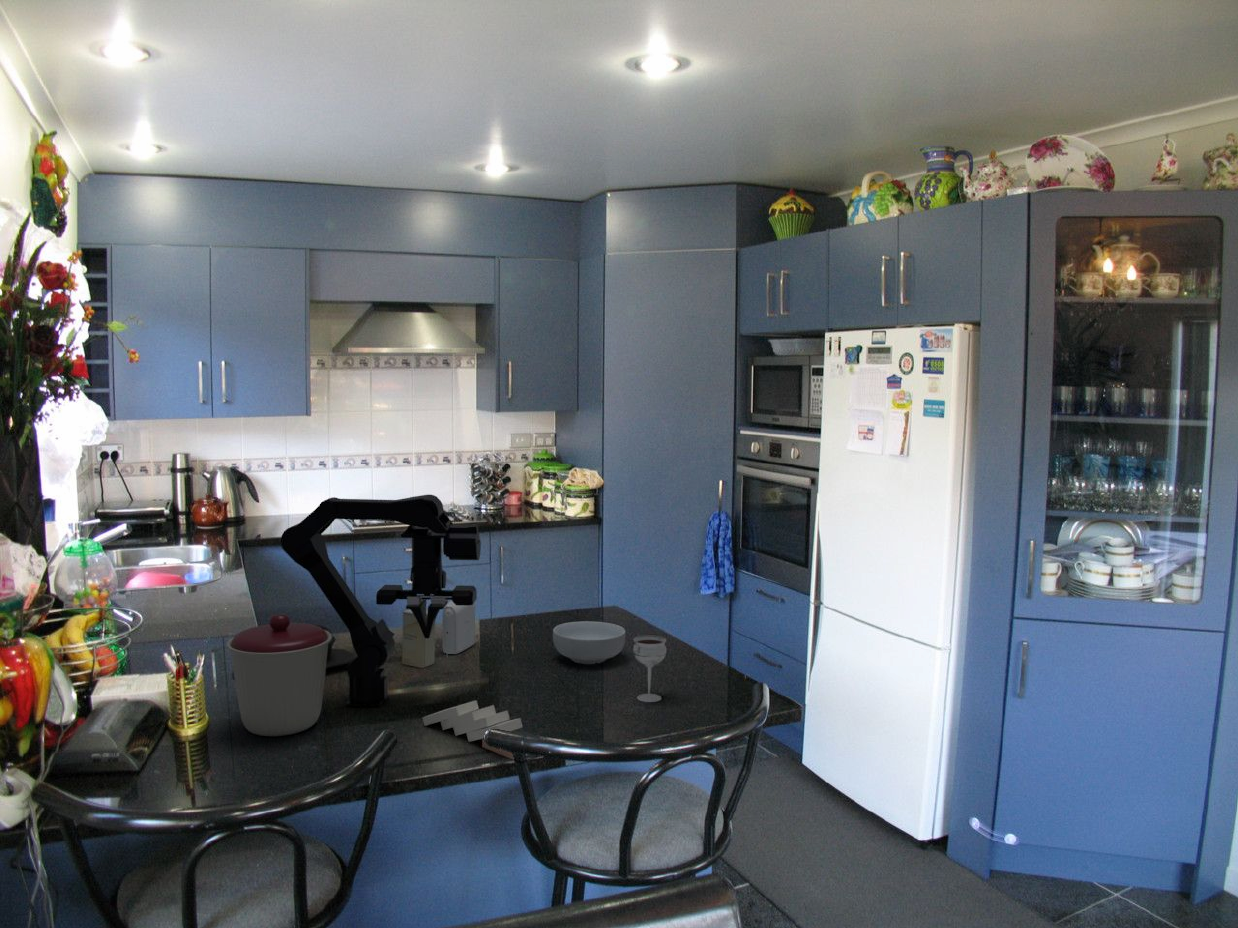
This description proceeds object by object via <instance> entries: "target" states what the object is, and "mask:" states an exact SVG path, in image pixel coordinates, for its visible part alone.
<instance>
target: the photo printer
mask: <svg viewBox="0 0 1238 928" xmlns="http://www.w3.org/2000/svg"><path fill="white" fill-rule="evenodd" d="M475 604H476V603H475V602H474V604H473V605H455V604H454V603H453V602H452V600H449V601H448V603H447V605H446V606H445V607H444V609H442V615H441V616H442V652H443V653H444V654H445V653H446V654H445V655H448V654H455V655H458V654H459V653H462V652H463V651H465V650H467V649H469V648H470V647H472V646H474V645H475V644H476V606H475Z"/></svg>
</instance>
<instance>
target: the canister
mask: <svg viewBox="0 0 1238 928" xmlns="http://www.w3.org/2000/svg"><path fill="white" fill-rule="evenodd" d="M290 619H291V618H290V616H289V615H287V614H285V613H276V614H273V615H272V616H270V618H269V624H268V623H267V624H262V625H257V626H254V627H253V626H252V627H250V628H247V629H244V630H242V631H240V632H238V633H237V634H236V635H235V636H233V637H231V638H230V639H228V641H227V642H226V645H225V646H226V648H227V650H228V651H230V653H231V654H230V656H231V663H232V669H233V677H234V682H235V683H234V684H235V691H236V697H237V703H238V708H239V709H238V710H239V713H240V720H241V722H242V724H243V726H244V728H245V729H246V730H247V731H248V732H250V733H251V734H254V735H257V736H261V737H262V736H265V737H282V736H287V735H292V734H293V735H294V734H297V733H301V732H303V731H306V730H308V729H309V728H311V727H312V726H313V725H315V724H316V723H317V722H318V719H319V717H320V715H321V711H322V705H323V698H324V691H325V690H324V689H325V681H326V680H325V679H326V662H327V651H328V643H329V642H330V641H331V639H332V636H333V634H332V635H331V633H332V632H331V633H329V632H328V631H326V630H324V629H322V628H321V627H318V626H315V625H316V624H310V623H304V622H291V620H290Z"/></svg>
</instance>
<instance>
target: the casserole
mask: <svg viewBox="0 0 1238 928" xmlns="http://www.w3.org/2000/svg"><path fill="white" fill-rule="evenodd" d="M314 625H315V626H318V627H321V628H322V629H324V630H326V631H328V632H329V633H331V635H332V639H331V641H330V642H329V643H328V651H327V662H326V669H327V670H328V669H329V668H334V667H340V666H343V665H348V664H350V663H351V662H352V660H353V659H354V658H355V655H354V654H353V652H351V651H349V650H347V649H344V648H333V645H334V643H335V641H336V637H335V636H334V635H333V634H332V633H333V632H332V630H331V629H330V628H329V627H328V626H323V625H318V624H314Z"/></svg>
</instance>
